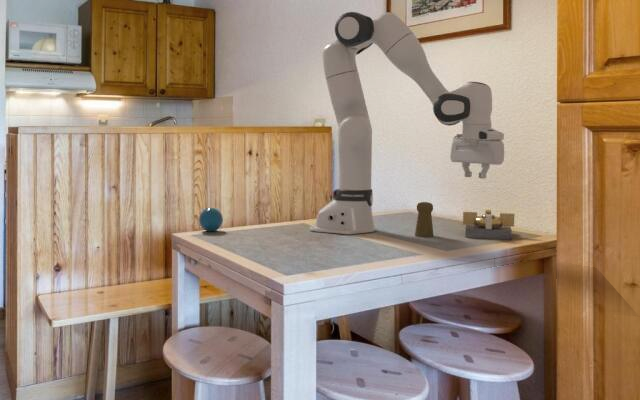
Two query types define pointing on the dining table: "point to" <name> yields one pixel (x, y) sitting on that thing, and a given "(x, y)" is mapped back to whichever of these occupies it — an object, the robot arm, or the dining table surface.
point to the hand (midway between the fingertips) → (475, 177)
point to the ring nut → (488, 219)
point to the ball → (210, 219)
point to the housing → (488, 232)
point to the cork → (424, 220)
